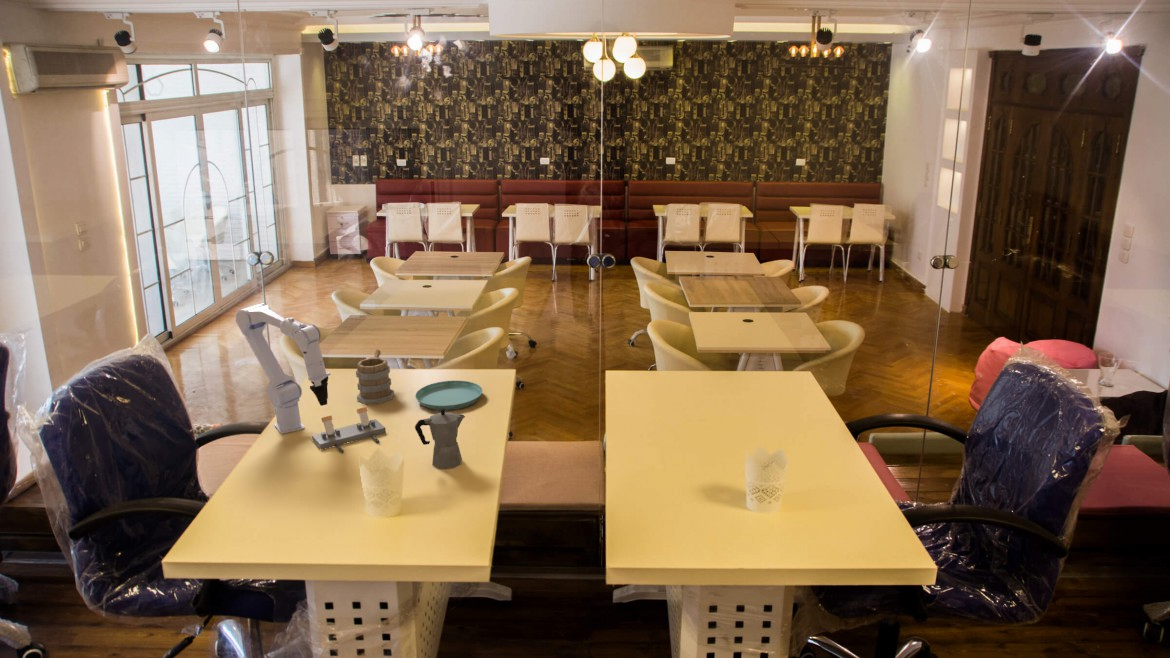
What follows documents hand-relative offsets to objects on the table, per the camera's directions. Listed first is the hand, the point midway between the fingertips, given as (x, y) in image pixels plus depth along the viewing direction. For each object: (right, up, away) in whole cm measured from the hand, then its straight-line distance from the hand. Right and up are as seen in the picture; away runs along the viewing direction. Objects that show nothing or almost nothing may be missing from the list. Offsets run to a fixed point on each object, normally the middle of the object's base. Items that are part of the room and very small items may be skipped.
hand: (324, 402), depth 295 cm
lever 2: (+12, -8, +6) cm, 16 cm away
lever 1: (+2, -10, 0) cm, 11 cm away
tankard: (+8, -1, +41) cm, 42 cm away
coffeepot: (+42, -18, -18) cm, 49 cm away
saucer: (+36, -2, +33) cm, 49 cm away
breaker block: (+9, -13, +1) cm, 16 cm away
